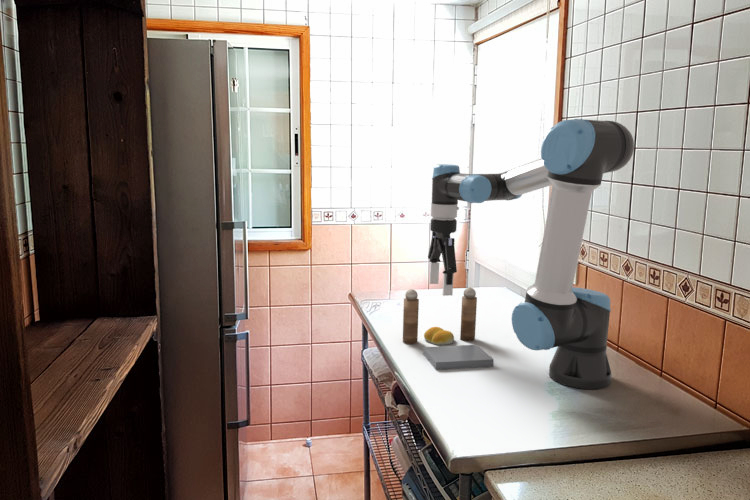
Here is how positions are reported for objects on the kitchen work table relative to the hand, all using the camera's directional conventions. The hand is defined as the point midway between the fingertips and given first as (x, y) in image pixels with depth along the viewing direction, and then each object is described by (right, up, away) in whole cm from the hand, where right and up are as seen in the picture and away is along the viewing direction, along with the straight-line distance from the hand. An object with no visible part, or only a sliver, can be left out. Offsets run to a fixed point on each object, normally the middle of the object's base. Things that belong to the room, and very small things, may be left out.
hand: (440, 289), depth 184 cm
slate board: (+3, -19, -14) cm, 23 cm away
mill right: (+9, -15, +4) cm, 18 cm away
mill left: (-9, -16, +1) cm, 18 cm away
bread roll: (0, -16, +3) cm, 16 cm away
